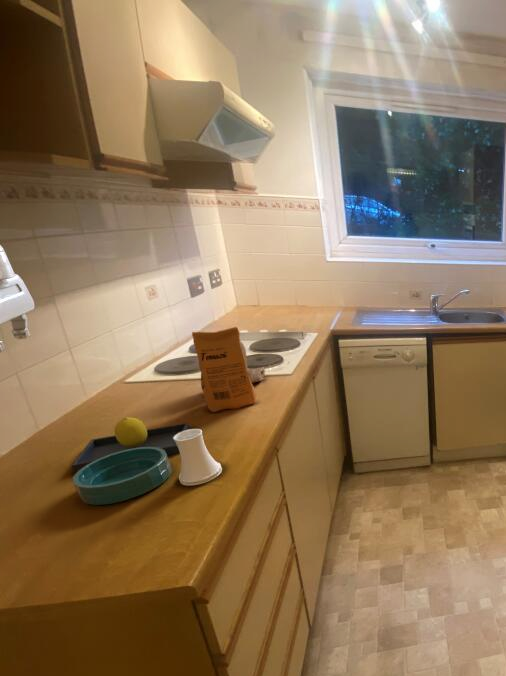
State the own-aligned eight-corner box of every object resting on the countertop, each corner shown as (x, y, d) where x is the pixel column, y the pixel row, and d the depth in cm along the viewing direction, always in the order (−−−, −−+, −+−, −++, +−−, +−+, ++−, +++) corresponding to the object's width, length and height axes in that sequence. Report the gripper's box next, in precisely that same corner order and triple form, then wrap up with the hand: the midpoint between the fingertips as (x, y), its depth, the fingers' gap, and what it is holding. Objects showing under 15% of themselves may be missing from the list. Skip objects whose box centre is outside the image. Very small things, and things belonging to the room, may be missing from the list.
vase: (221, 479, 91) (208, 437, 87) (177, 489, 88) (162, 447, 84) (222, 461, 97) (210, 422, 93) (182, 471, 94) (167, 431, 90)
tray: (74, 473, 93) (71, 465, 92) (94, 446, 103) (91, 439, 102) (182, 452, 101) (179, 444, 100) (190, 429, 111) (188, 422, 110)
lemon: (120, 456, 98) (107, 425, 95) (123, 445, 103) (111, 415, 100) (150, 449, 101) (139, 419, 98) (152, 439, 106) (141, 409, 102)
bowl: (69, 515, 81) (59, 495, 79) (96, 474, 93) (88, 456, 91) (164, 493, 87) (157, 475, 85) (178, 457, 99) (172, 440, 97)
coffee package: (209, 401, 126) (187, 328, 118) (257, 392, 132) (239, 322, 123) (205, 415, 118) (182, 337, 110) (257, 405, 124) (238, 331, 115)
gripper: (-17, 263, 84) (16, 332, 89) (-92, 280, 67) (-46, 364, 72) (27, 261, 86) (56, 328, 92) (-34, 277, 69) (6, 358, 75)
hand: (11, 344), depth 82 cm, fingers open, 8 cm apart
